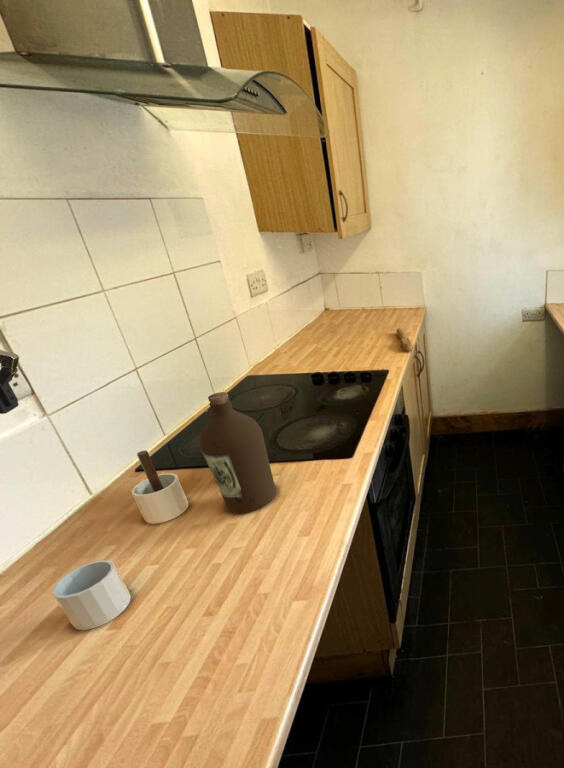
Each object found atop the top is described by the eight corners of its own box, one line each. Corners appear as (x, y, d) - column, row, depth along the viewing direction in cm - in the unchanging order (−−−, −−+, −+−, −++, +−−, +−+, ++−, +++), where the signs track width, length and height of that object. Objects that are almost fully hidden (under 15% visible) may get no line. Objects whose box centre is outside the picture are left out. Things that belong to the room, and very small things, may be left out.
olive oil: (255, 480, 96) (223, 381, 86) (290, 489, 93) (261, 387, 83) (211, 509, 87) (169, 403, 77) (249, 521, 84) (210, 411, 74)
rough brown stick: (402, 327, 201) (412, 345, 175) (402, 333, 202) (413, 352, 177) (395, 328, 200) (405, 346, 174) (396, 334, 201) (406, 353, 176)
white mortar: (63, 636, 62) (40, 603, 59) (87, 598, 68) (68, 567, 65) (119, 621, 64) (100, 589, 61) (138, 586, 70) (121, 555, 67)
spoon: (155, 514, 85) (128, 456, 80) (158, 508, 87) (132, 451, 81) (175, 509, 86) (151, 453, 81) (178, 504, 88) (154, 448, 82)
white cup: (138, 527, 82) (124, 499, 80) (153, 504, 89) (141, 477, 86) (181, 518, 85) (170, 490, 82) (193, 496, 91) (182, 470, 88)
